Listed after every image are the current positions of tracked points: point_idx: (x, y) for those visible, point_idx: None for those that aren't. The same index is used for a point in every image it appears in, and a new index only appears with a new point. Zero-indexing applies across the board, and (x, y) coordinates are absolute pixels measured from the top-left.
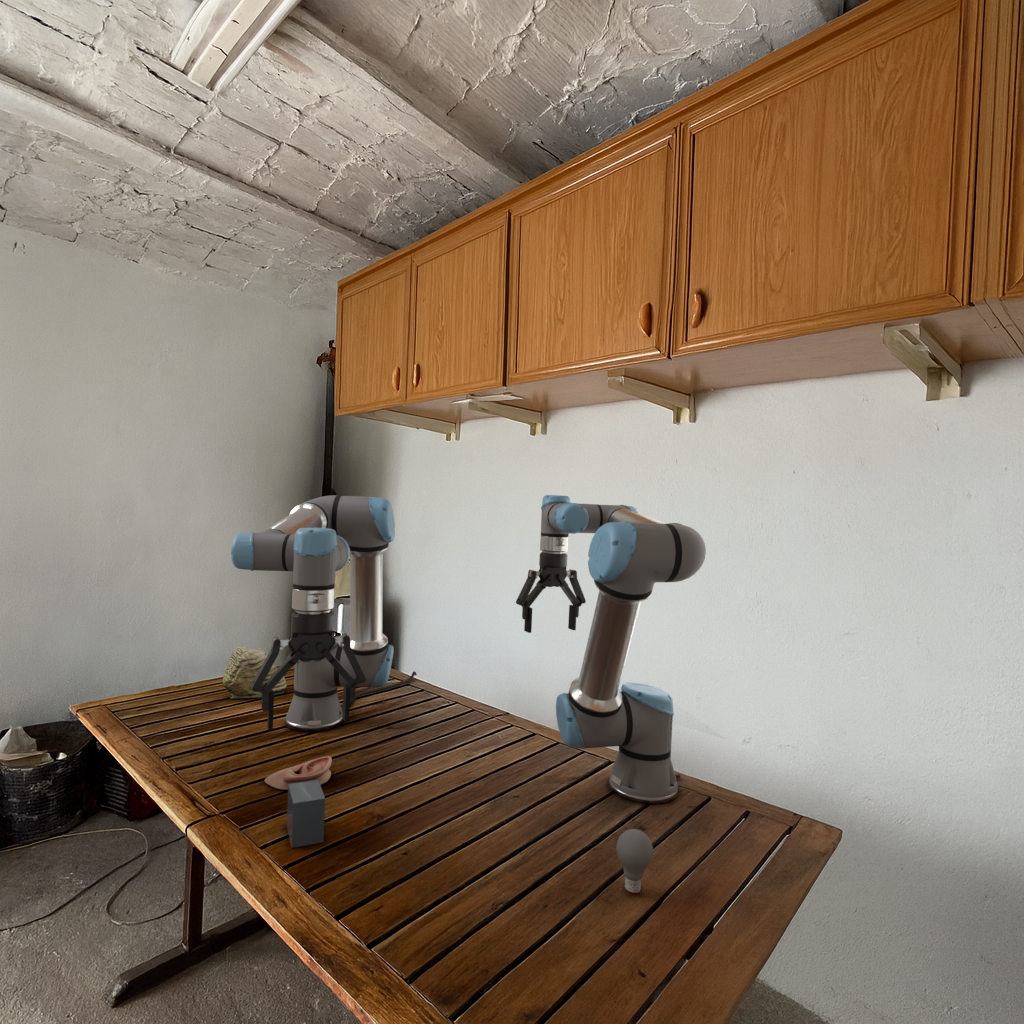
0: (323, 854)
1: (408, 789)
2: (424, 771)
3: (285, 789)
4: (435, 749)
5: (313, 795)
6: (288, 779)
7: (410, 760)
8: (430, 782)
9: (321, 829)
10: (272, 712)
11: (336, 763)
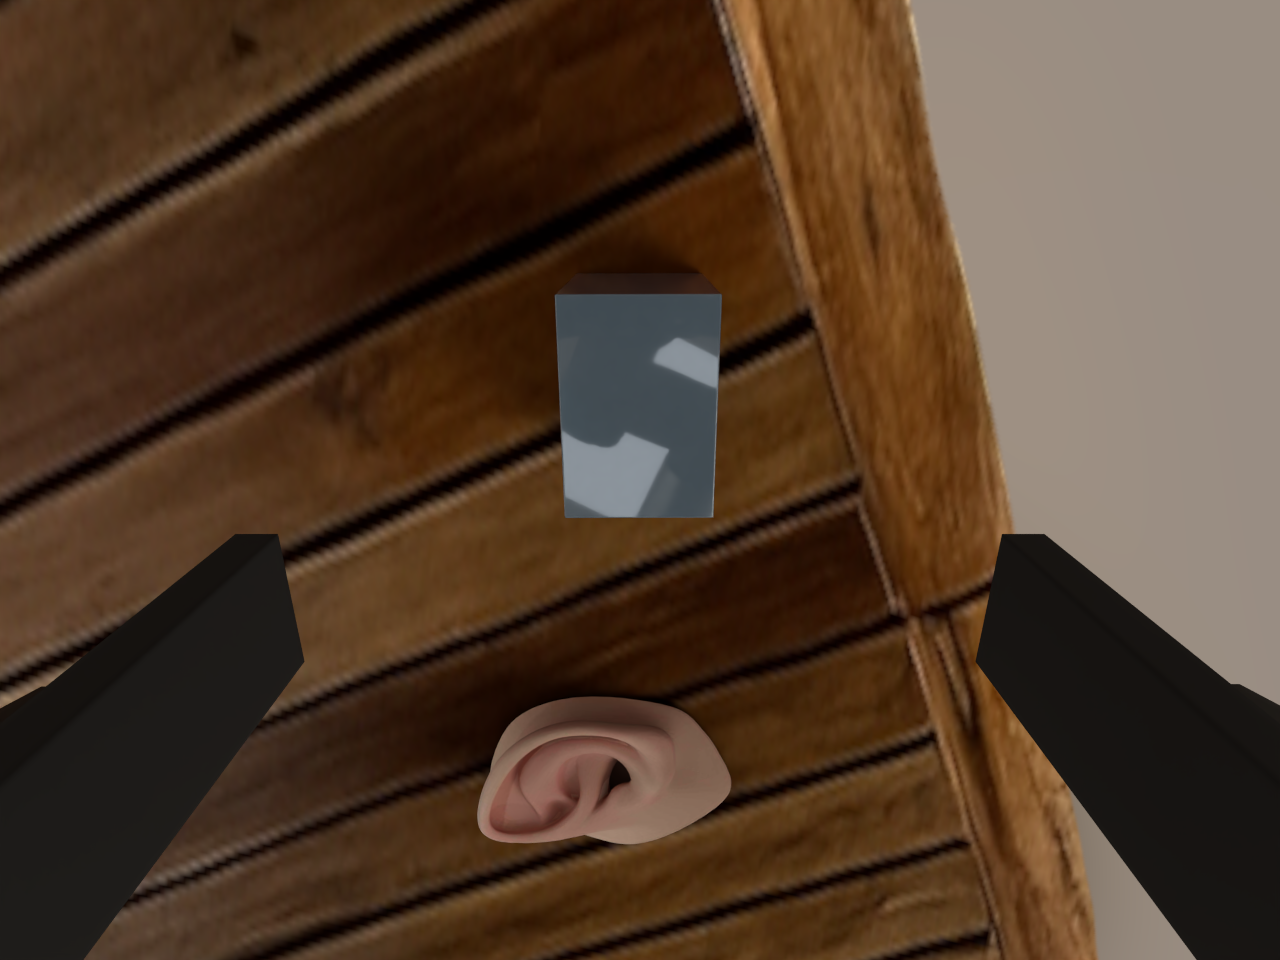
0: (586, 176)
1: None
2: None
3: (667, 706)
4: None
5: (610, 350)
6: (659, 731)
7: None
8: (97, 604)
9: (581, 278)
10: (1130, 636)
11: (462, 842)
